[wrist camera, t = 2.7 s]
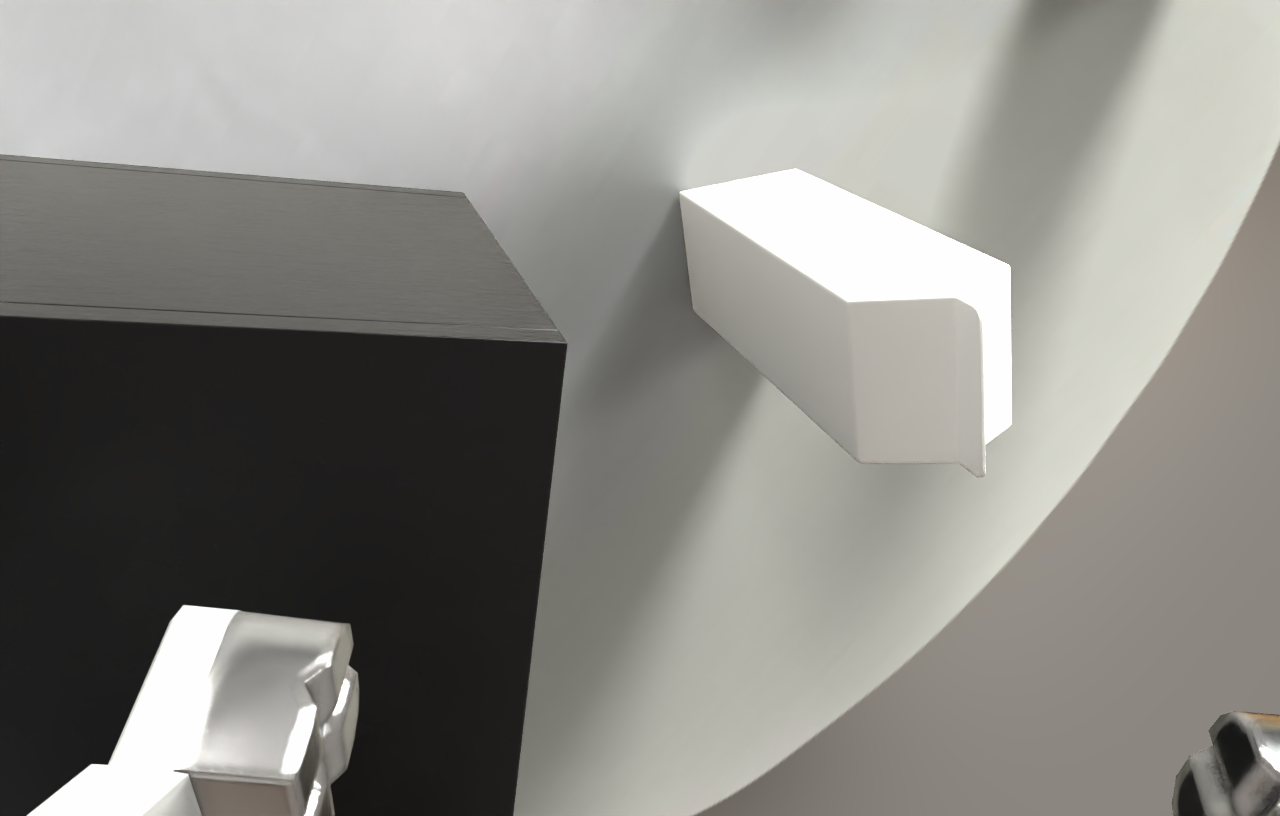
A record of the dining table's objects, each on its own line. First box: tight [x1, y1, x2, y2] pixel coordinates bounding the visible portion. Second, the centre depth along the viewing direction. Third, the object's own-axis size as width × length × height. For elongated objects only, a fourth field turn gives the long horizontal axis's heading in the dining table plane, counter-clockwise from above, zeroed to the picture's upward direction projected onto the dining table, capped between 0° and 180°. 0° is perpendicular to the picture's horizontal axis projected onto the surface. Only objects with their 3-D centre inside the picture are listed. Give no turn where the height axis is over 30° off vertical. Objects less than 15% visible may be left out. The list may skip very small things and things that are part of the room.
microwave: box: [0, 154, 567, 816], centre depth 45 cm, size 28×34×22 cm
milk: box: [679, 169, 1012, 478], centre depth 48 cm, size 6×6×22 cm
